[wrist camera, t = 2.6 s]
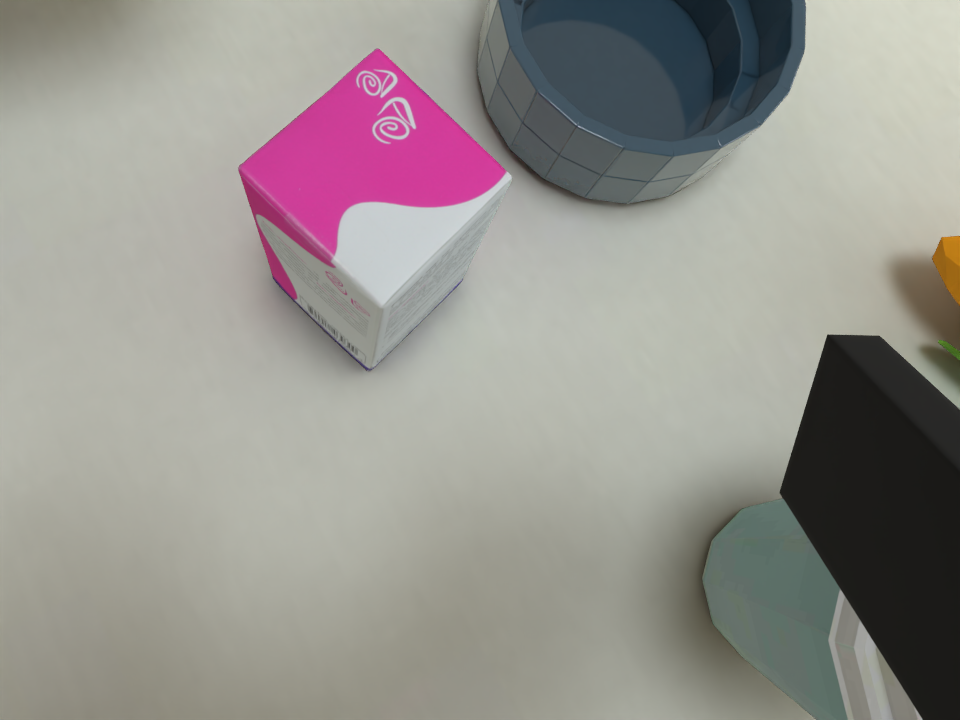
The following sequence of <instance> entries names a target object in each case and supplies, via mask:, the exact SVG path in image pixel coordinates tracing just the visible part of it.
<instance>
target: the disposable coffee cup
mask: <svg viewBox="0 0 960 720" xmlns="http://www.w3.org/2000/svg"><path fill="white" fill-rule="evenodd" d="M702 581H703V585H704V589H705V594H706V598H707V602H708V606H709V611H710V615H711V618H712V622H713V625H714V626H715V627H716V628H717V629H718V630H719V631H720V633H721V634H722V635H723V636H724V637H725V638H726V639H727V641H728V642H729V643H730V644H731V645H732V646H733V647H734V648H735V650H736V651H737V652H738V653H739V654H740V655H741V656H742V657H743V658H744V659H745V660H746V661H748V662H749V663H750V664H751V665H752V666H753V667H755V668H756V669H757V670H758V671H759V672H761V673H762V674H763V675H764V676H765V677H767V678H768V679H769V680H770V681H771V682H772V683H774V684H775V685H776V686H777V687H778V688H780V689H781V690H782V691H783V692H784V693H786V694H787V695H788V696H789V697H790V698H791V699H793V700H794V701H795V702H796V703H797V704H799V705H800V706H801V707H802V708H803V709H805V710H806V711H807V712H808V713H809V714H810V715H812V716H813V717H814V718H815V719H816V720H923V719H922V718H921V716H920V715H919V713H918V711H917V710H916V708H915V707H914V705H913V703H912V702H911V700H910V699H909V697H908V696H907V694H906V692H905V691H904V689H903V688H902V686H901V684H900V683H899V681H898V680H897V678H896V677H895V675H894V673H893V672H892V670H891V669H890V667H889V665H888V664H887V662H886V661H885V659H884V657H883V656H882V654H881V653H880V651H879V650H878V648H877V646H876V645H875V643H874V642H873V640H872V638H871V637H870V635H869V634H868V632H867V631H866V629H865V627H864V626H863V624H862V623H861V621H860V619H859V618H858V616H857V615H856V613H855V611H854V610H853V608H852V607H851V605H850V604H849V602H848V600H847V599H846V597H845V596H844V594H843V592H842V591H841V589H840V588H839V586H838V585H837V583H836V581H835V580H834V578H833V577H832V575H831V573H830V572H829V570H828V569H827V567H826V565H825V564H824V562H823V561H822V559H821V558H820V556H819V554H818V553H817V551H816V550H815V548H814V546H813V545H812V543H811V542H810V540H809V539H808V537H807V535H806V534H805V532H804V531H803V529H802V527H801V526H800V524H799V523H798V521H797V520H796V518H795V516H794V515H793V513H792V512H791V510H790V508H789V507H788V505H787V504H786V502H785V500H784V499H779V500H775V501H771V502H767V503H763V504H759V505H754V506H750V507H746V508H742V509H741V510H740V511H739V512H738V513H737V514H736V516H735V517H734V518H733V519H732V520H731V521H730V522H729V523H728V524H727V525H726V526H725V527H724V528H723V529H722V530H721V531H720V532H719V533H718V534H717V535H716V536H715V537H714V539H713V540H712V541H711V545H710V549H709V553H708V557H707V561H706V565H705V568H704V572H703V576H702Z"/></svg>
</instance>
